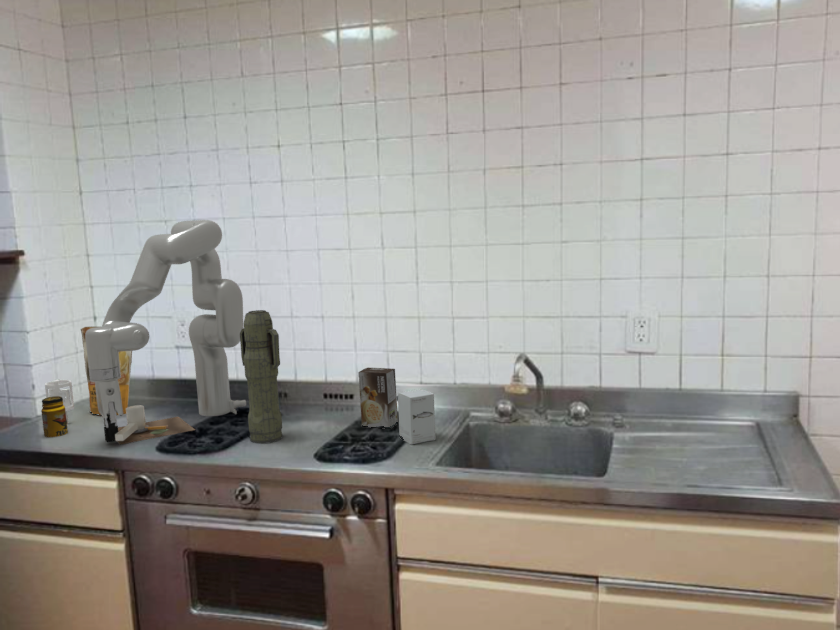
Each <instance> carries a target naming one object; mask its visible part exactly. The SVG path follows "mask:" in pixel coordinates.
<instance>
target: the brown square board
mask: <svg viewBox="0 0 840 630" xmlns="http://www.w3.org/2000/svg"><path fill="white" fill-rule="evenodd" d="M146 425H148V426H149V427H154V426H166V429H153V430H147V431H145V432H141V433H134V434H131V435H130V436H129V437H127V438H126V439H125V440H124V441H116V442H117V443H118V445H124V444H131V443H137V442H140V441H141V442H142V441H146V440H152V439H156V438H161V437H166V436H172V435H177V434H182V433H186V432H193V431H195V430H196V428H194V427H193V426H191V425H190V424H189V423H187V422H186V421H184V420H183V419H182V418H181V417H179V416H173V417H170V418H162V419H157V420H152V421H148V422H147V421H146ZM125 426H126V425H123V426H118V432H119V431H120V430H122V429H123V428H124V427H125Z"/></svg>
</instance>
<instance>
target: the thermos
mask: <svg viewBox="0 0 840 630" xmlns="http://www.w3.org/2000/svg"><path fill="white" fill-rule="evenodd" d="M273 327H274V324H273V319H272V317H271V314H270V312H269V311H267V310H264V309H263V310H262V309H258V310H257V309H256V310H250V311H248V312H246V313H245V315H244V318H243V329H242V330H241V332H240V342H239V344H240V353H241V354H240V356H241V363H242V366H244V376H245V379H246V380H247V393H248V407H249V412H248V415H247V420H248V421H247V422H248V432H249V436H250V437H249V438H250V439H249V440H250V442H252V443H254V444H268V443H273V442H274V443H275V442H277V441H280V440H281V439H282V438H283V418H282V412H281V410H280V406H279V405H280V402H279V389H278V376H279V366H280V365H281V358H280V336H279V333H278V331H277V329H276V328H275V329H274V328H273Z"/></svg>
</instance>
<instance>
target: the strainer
mask: <svg viewBox="0 0 840 630" xmlns="http://www.w3.org/2000/svg"><path fill="white" fill-rule="evenodd" d="M44 387H45V388H44V390H45V398H48V397H53V396H60V397H62V398H63V405H64V406H65V411H66V419H67V425H68V424H69V419H68V418H69V417H68V412H69V411H72V410H74V409H75V403H74V394H73V393H74V392H73V386H72V380H70V379H59V378H58V379H54V380H52V381H51V380H50V381H47V382H45V383H44ZM66 388H67V389H66Z"/></svg>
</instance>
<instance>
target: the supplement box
mask: <svg viewBox="0 0 840 630" xmlns="http://www.w3.org/2000/svg"><path fill="white" fill-rule="evenodd" d="M397 414H398V431H399V433H398V435H400V436H402V437H403V439H404V440H403V441H404V442H405V443H407V444H408V445H409V444H410V445H411V446H412V445H414V444H420V443H426V442H430V441H435V440H436V417H435V416H436V415H435V393H433V392H431V391H428V390H425V389H423V388H421V389H419V388H418V389H414V390H413V389H412V390H407V391H400V392H397Z"/></svg>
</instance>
